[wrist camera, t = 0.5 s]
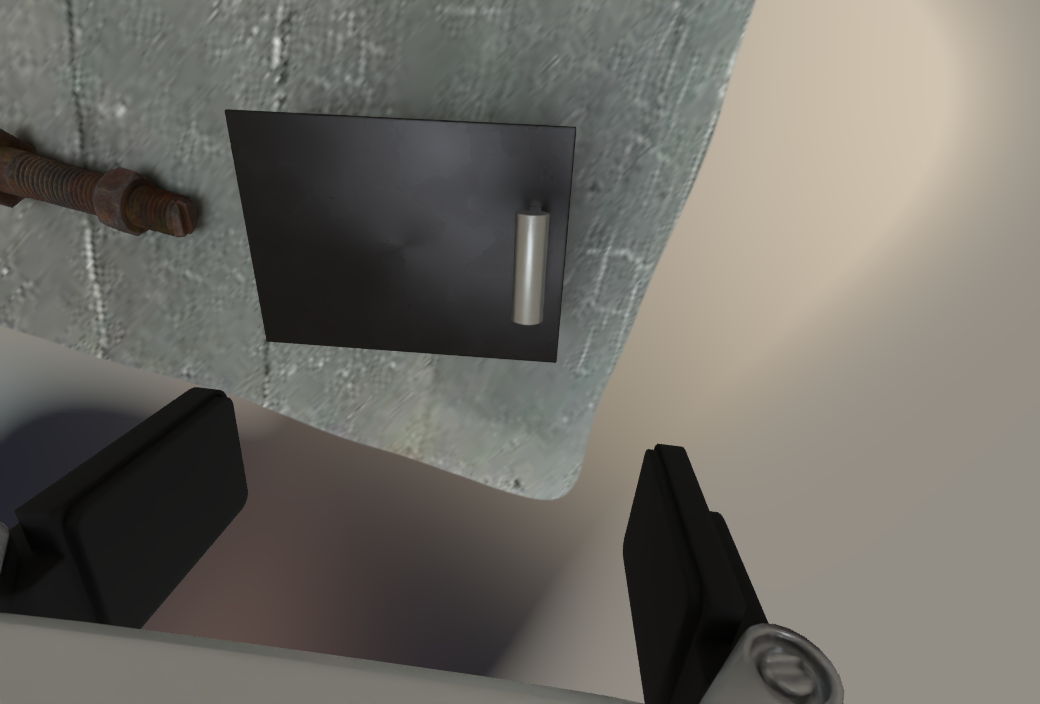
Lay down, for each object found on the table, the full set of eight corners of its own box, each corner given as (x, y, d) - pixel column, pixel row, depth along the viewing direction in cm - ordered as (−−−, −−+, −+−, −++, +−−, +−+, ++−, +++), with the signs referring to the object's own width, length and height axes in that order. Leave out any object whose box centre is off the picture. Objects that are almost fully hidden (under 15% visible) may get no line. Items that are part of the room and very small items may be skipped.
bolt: (217, 219, 42) (34, 169, 41) (198, 168, 38) (-7, 111, 36) (178, 267, 38) (-23, 214, 37) (152, 217, 34) (-75, 156, 33)
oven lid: (575, 127, 28) (579, 126, 23) (556, 358, 34) (555, 393, 29) (232, 109, 29) (170, 105, 24) (272, 337, 35) (228, 368, 30)
